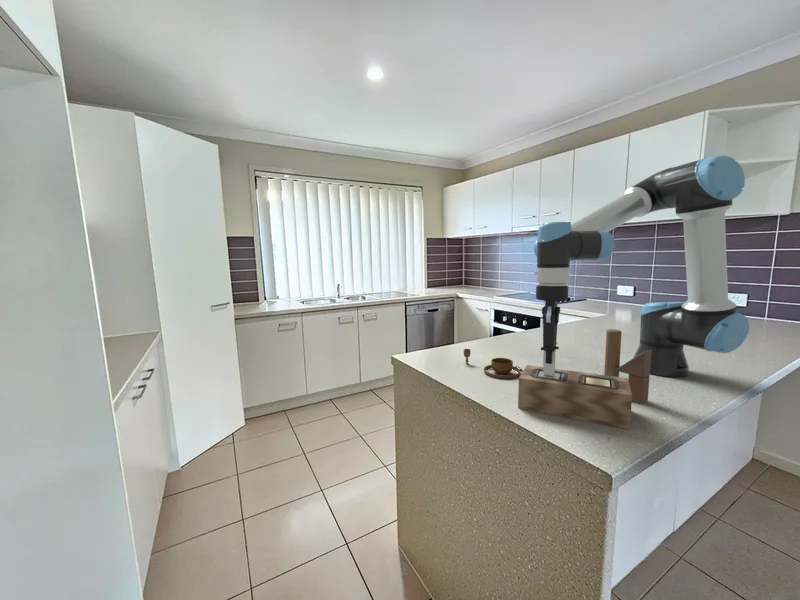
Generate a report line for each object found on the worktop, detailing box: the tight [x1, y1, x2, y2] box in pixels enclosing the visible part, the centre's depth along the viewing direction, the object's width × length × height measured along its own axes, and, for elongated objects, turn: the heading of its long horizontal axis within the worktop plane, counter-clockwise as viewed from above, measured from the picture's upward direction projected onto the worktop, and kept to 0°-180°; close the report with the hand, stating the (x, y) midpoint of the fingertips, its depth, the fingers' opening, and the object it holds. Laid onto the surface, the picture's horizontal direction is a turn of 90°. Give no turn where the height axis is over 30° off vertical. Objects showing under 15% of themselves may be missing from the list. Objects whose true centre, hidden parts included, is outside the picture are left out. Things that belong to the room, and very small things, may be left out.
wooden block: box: [603, 328, 652, 405], centre depth 91 cm, size 4×11×18 cm, turn 29°
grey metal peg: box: [538, 371, 560, 379], centre depth 88 cm, size 5×5×7 cm
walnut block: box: [517, 364, 633, 430], centre depth 85 cm, size 24×12×8 cm, turn 60°
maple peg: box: [586, 377, 610, 387], centre depth 82 cm, size 5×5×7 cm
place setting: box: [463, 348, 524, 380], centre depth 116 cm, size 18×20×6 cm
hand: (548, 374), depth 87 cm, fingers closed
